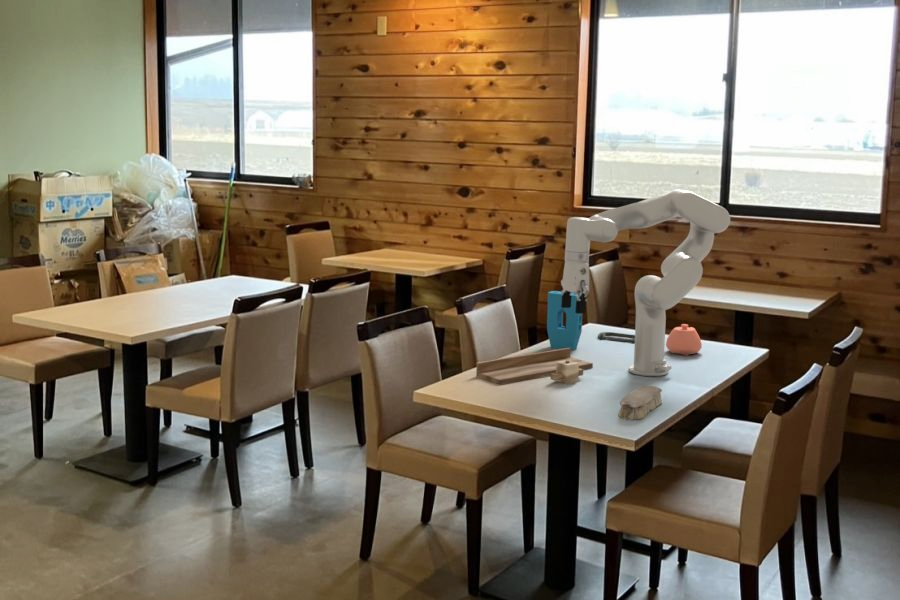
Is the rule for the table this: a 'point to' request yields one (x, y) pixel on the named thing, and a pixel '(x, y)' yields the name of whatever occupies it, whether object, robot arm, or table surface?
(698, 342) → the sugar bowl
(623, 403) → the beige mottled oblong part
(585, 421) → the table surface
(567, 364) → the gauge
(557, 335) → the block
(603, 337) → the c clamp
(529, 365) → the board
